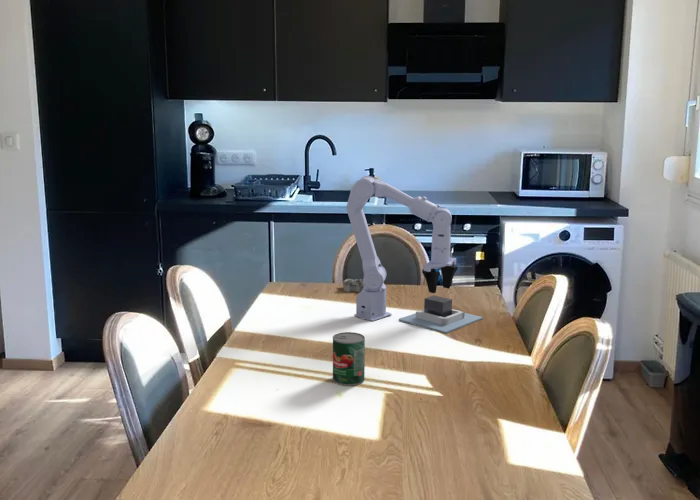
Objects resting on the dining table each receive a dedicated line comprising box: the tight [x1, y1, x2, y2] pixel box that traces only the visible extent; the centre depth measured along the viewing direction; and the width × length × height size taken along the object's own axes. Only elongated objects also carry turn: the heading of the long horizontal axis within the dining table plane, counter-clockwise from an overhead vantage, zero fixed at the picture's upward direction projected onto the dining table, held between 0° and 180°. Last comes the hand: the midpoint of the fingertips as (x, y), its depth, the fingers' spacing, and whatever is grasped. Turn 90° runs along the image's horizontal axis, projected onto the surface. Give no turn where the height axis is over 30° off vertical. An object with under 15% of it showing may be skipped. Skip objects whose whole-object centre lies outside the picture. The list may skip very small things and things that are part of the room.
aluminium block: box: [423, 295, 453, 317], centre depth 226 cm, size 5×7×6 cm
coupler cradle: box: [398, 308, 484, 334], centre depth 226 cm, size 20×18×2 cm
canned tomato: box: [332, 331, 366, 387], centre depth 177 cm, size 8×8×11 cm
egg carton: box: [342, 278, 364, 293], centre depth 261 cm, size 11×8×4 cm
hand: (439, 290), depth 225 cm, fingers open, 7 cm apart
